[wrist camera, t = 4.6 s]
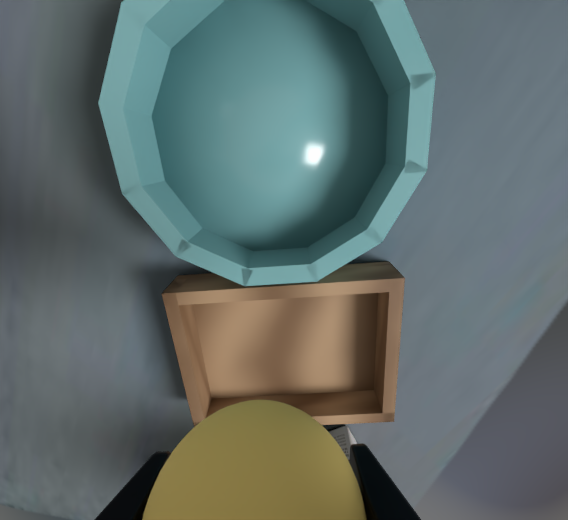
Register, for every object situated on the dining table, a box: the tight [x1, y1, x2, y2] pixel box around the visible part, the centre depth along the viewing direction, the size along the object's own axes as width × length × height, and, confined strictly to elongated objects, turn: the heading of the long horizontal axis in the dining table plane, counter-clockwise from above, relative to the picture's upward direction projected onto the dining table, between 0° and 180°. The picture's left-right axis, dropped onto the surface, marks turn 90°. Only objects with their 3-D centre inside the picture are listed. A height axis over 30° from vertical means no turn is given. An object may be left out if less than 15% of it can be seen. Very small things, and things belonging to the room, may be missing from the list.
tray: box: [162, 262, 405, 427], centre depth 19 cm, size 14×11×3 cm
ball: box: [142, 400, 367, 520], centre depth 7 cm, size 5×5×5 cm
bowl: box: [98, 0, 436, 287], centre depth 14 cm, size 14×14×3 cm
